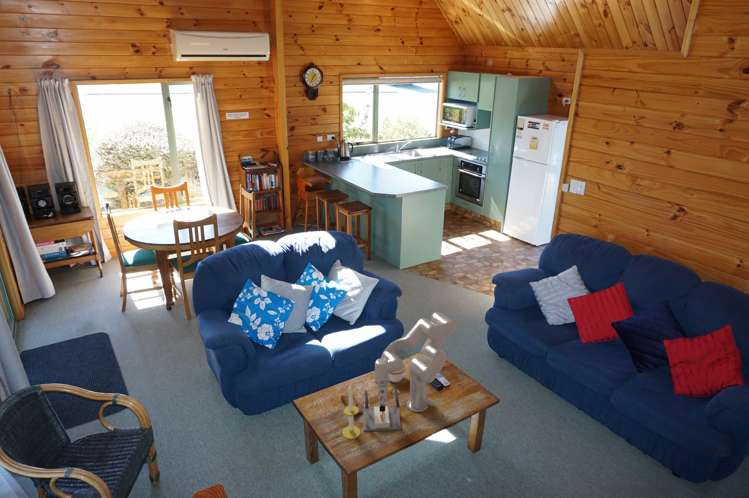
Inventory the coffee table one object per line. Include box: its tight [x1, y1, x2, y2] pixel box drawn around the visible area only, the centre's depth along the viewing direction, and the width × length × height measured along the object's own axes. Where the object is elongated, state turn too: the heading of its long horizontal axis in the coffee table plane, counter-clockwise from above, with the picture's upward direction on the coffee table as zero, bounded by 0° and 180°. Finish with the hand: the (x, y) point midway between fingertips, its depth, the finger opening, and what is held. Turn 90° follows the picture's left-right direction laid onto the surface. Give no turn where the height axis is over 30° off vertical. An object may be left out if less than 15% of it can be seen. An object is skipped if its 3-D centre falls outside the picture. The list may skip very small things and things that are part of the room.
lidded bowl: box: [389, 364, 406, 383], centre depth 323 cm, size 13×13×11 cm
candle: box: [342, 383, 361, 440], centre depth 274 cm, size 10×10×32 cm
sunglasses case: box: [340, 395, 364, 418], centre depth 300 cm, size 18×7×7 cm
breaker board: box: [362, 390, 402, 432], centre depth 286 cm, size 21×16×15 cm
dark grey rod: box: [364, 390, 369, 409], centre depth 283 cm, size 2×15×2 cm, turn 3°
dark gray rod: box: [394, 389, 401, 408], centre depth 284 cm, size 2×15×2 cm, turn 3°
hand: (381, 405), depth 285 cm, fingers open, 9 cm apart
